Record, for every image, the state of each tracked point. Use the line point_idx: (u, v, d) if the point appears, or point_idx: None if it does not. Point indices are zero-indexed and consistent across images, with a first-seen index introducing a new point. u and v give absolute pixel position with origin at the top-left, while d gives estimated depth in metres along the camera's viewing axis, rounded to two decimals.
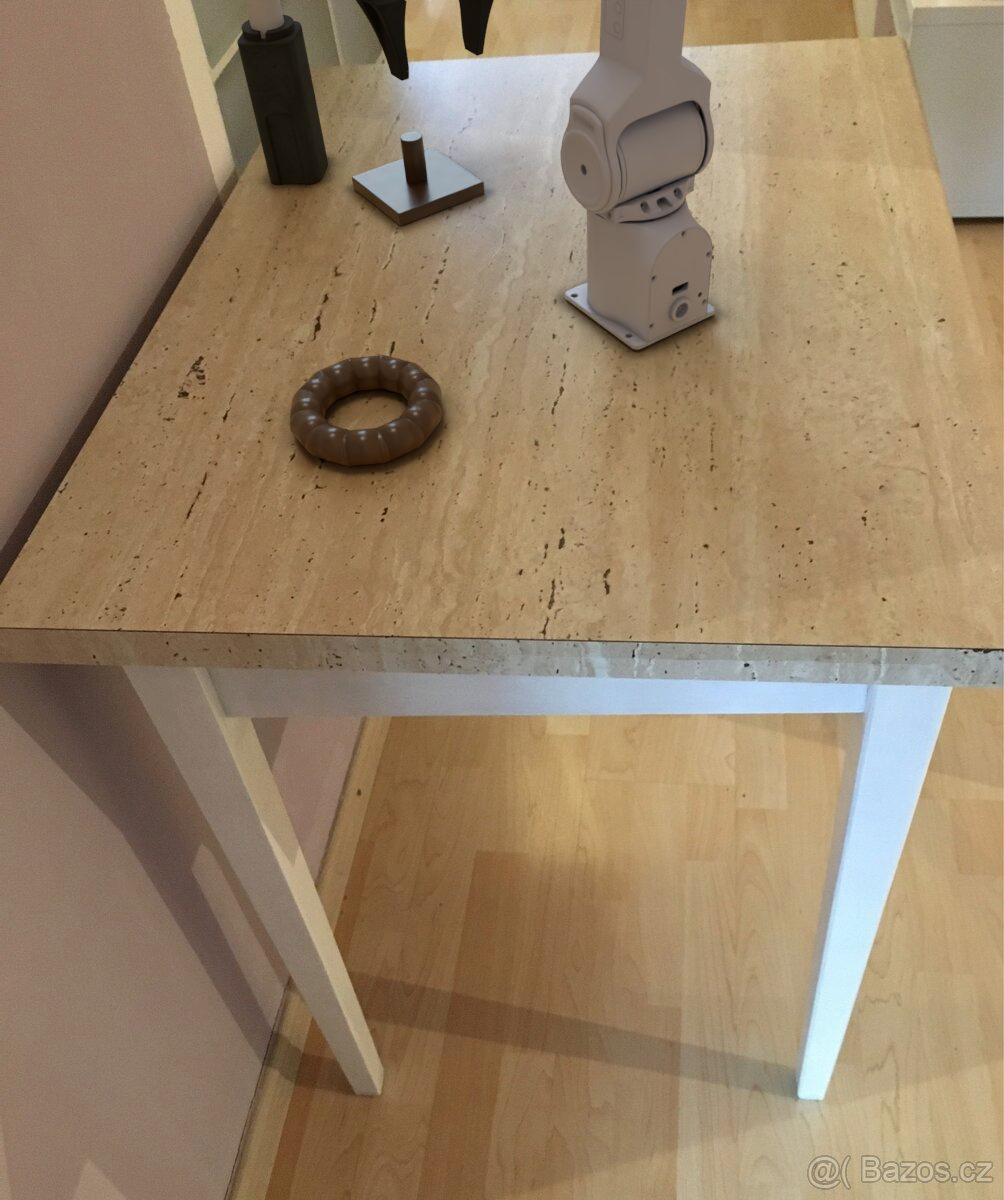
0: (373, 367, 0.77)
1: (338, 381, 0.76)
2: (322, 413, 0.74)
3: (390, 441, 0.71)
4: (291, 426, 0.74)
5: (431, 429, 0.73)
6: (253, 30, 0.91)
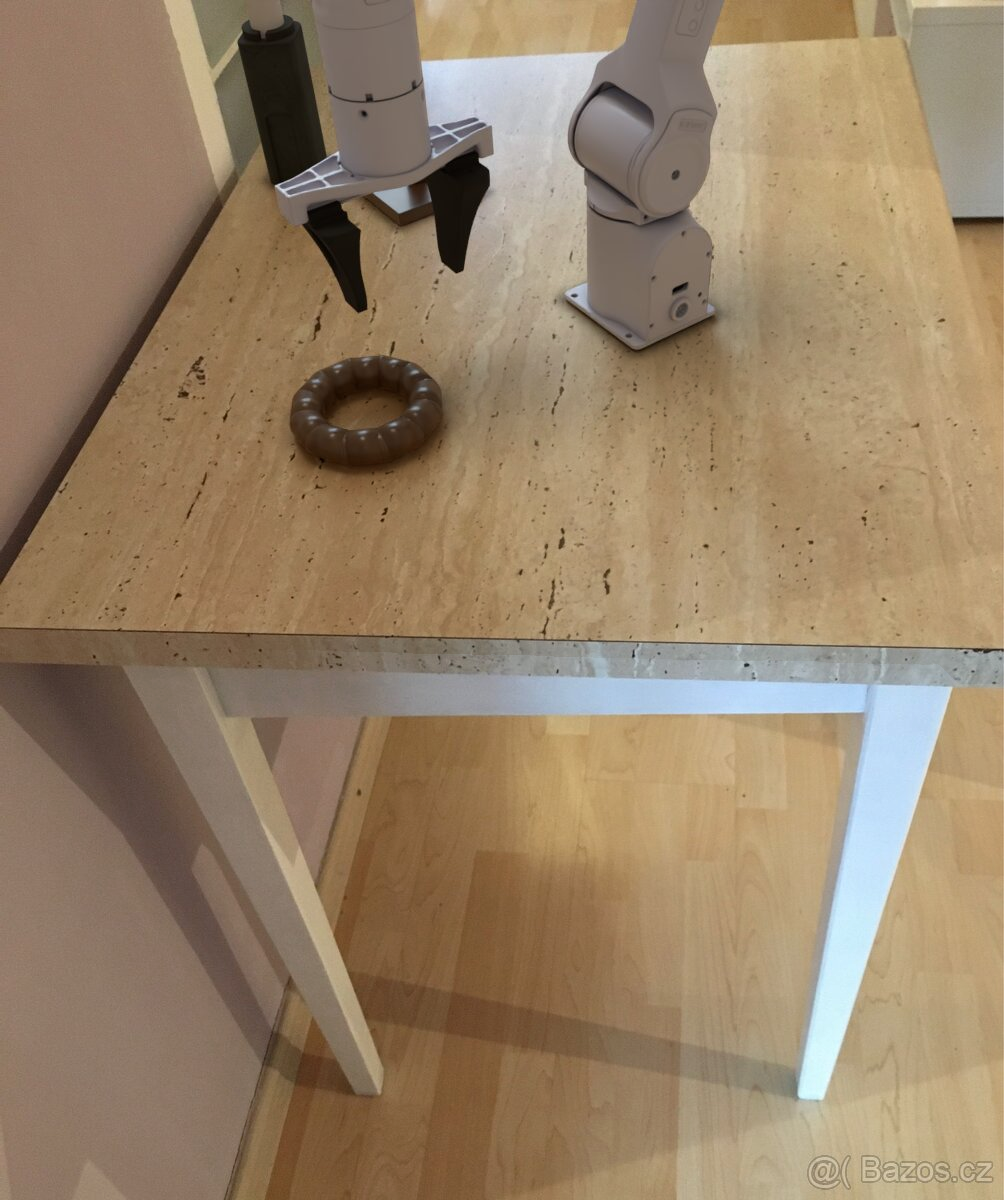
0: (373, 367, 0.77)
1: (338, 381, 0.76)
2: (322, 413, 0.74)
3: (390, 441, 0.71)
4: (291, 426, 0.74)
5: (431, 429, 0.73)
6: (253, 30, 0.91)
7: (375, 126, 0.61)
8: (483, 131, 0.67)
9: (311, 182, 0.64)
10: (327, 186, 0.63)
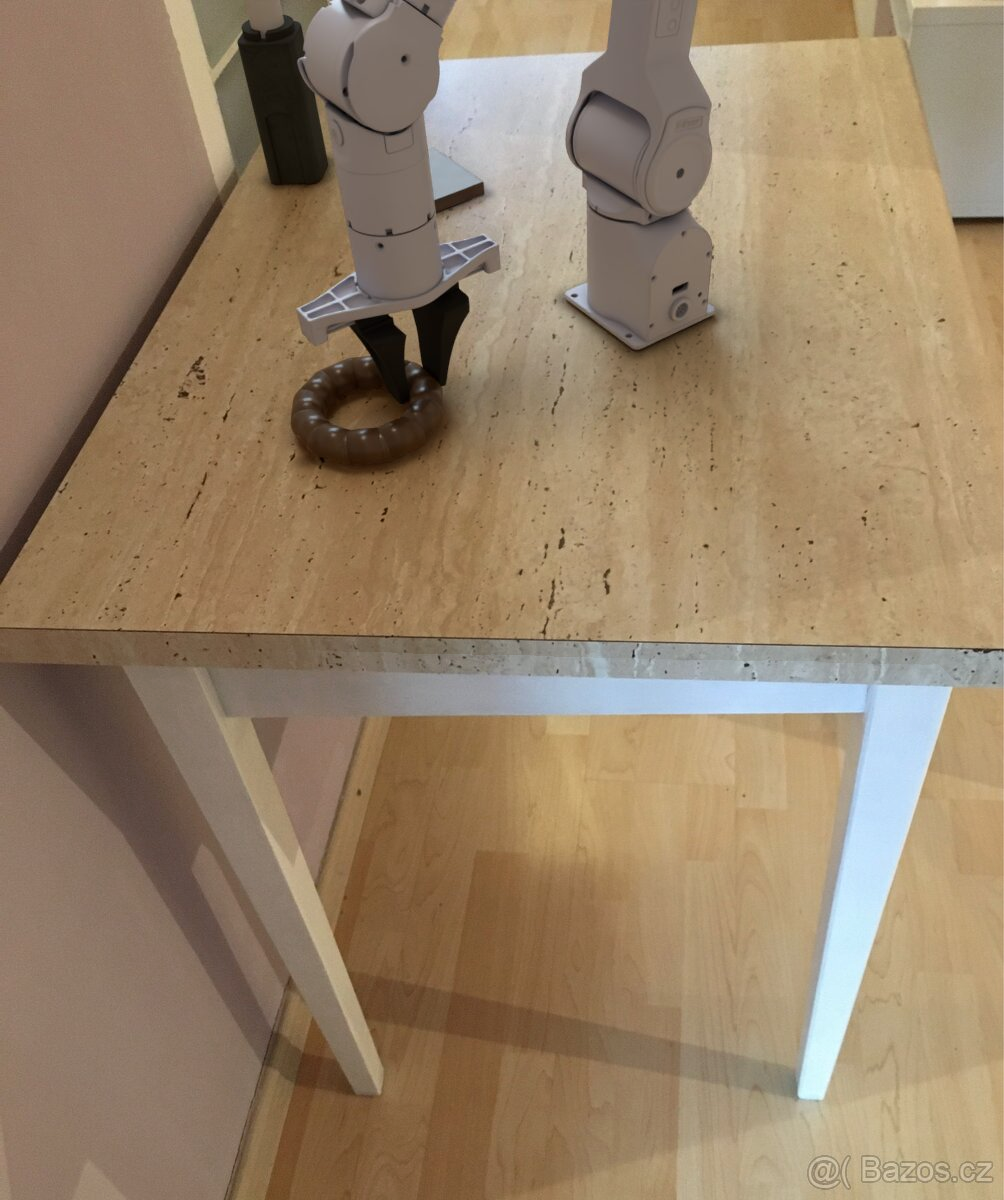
0: (374, 367, 0.77)
1: (339, 381, 0.76)
2: (323, 413, 0.74)
3: (391, 441, 0.71)
4: (292, 426, 0.74)
5: (432, 429, 0.73)
6: (253, 30, 0.91)
7: (391, 256, 0.66)
8: (491, 250, 0.71)
9: (331, 305, 0.68)
10: (346, 309, 0.67)
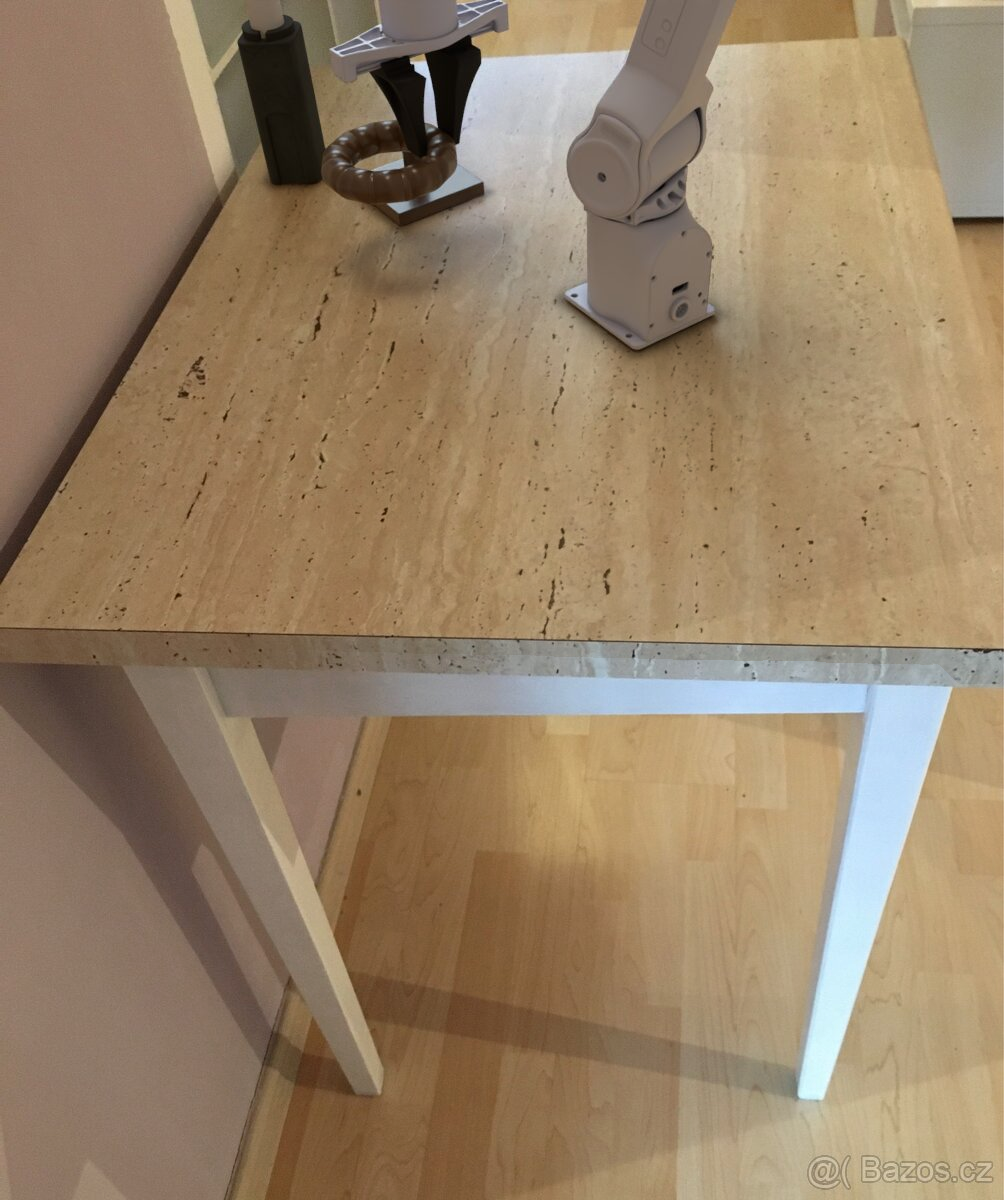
0: (394, 128, 0.86)
1: (363, 140, 0.85)
2: (350, 163, 0.83)
3: (412, 178, 0.80)
4: (323, 173, 0.83)
5: (448, 173, 0.82)
6: (253, 30, 0.91)
7: None
8: (500, 8, 0.80)
9: (360, 46, 0.77)
10: (373, 48, 0.76)
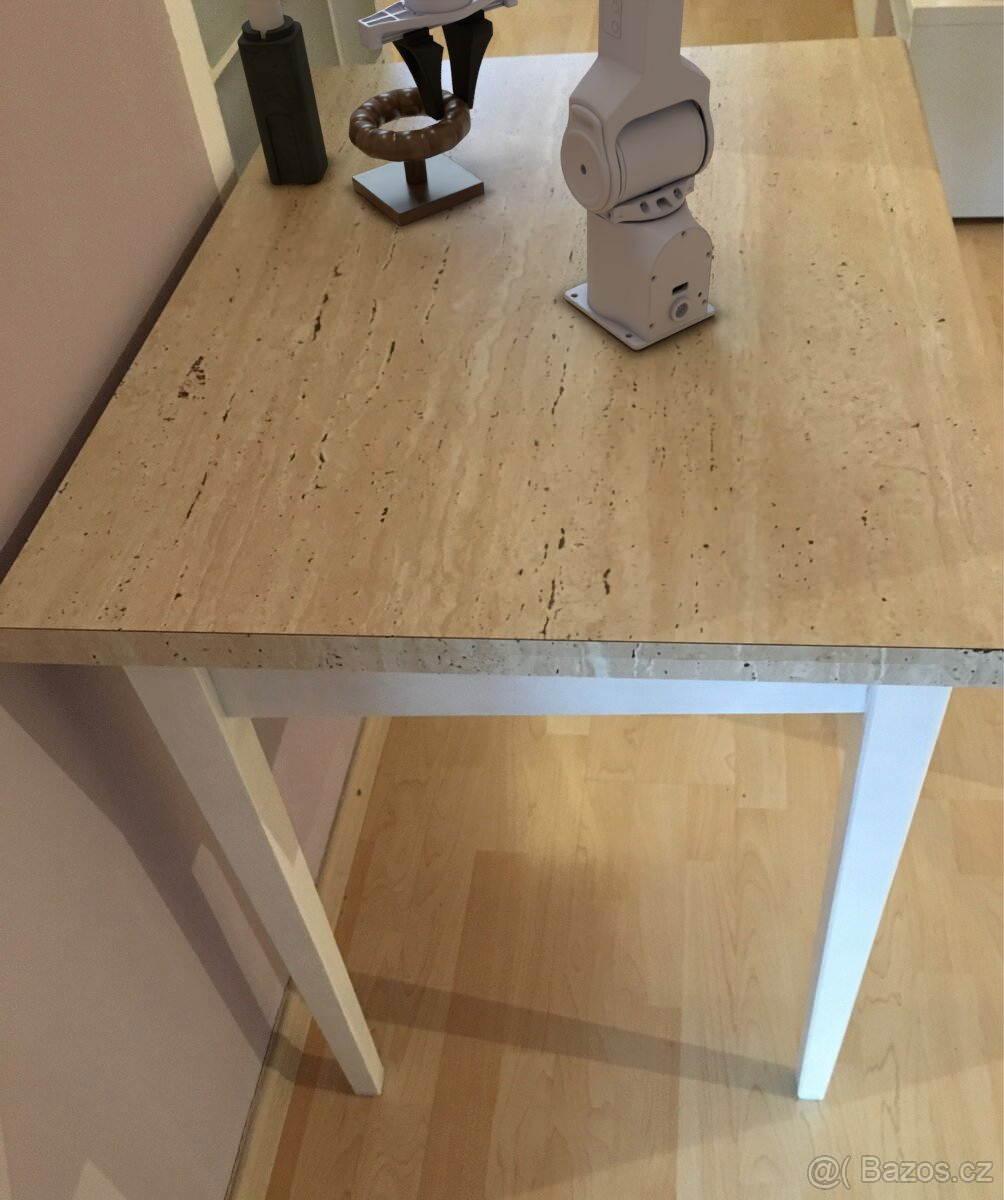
0: (414, 94, 0.95)
1: (386, 105, 0.95)
2: (374, 126, 0.93)
3: (431, 138, 0.90)
4: (350, 134, 0.92)
5: (462, 134, 0.92)
6: (253, 30, 0.91)
7: None
8: None
9: (385, 18, 0.86)
10: (397, 19, 0.86)
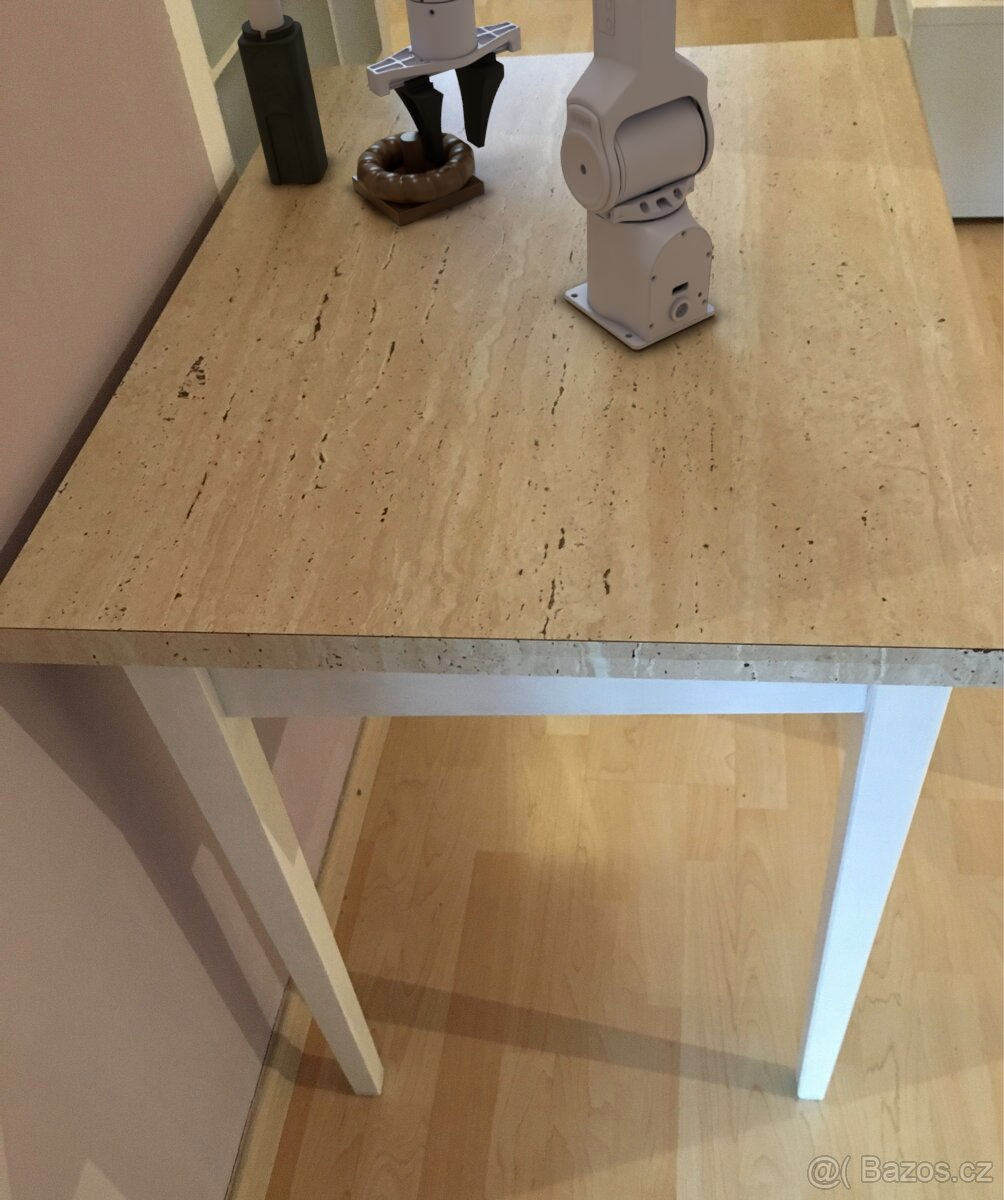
0: None
1: (393, 147, 0.98)
2: (382, 168, 0.96)
3: (436, 181, 0.93)
4: (358, 176, 0.95)
5: (467, 177, 0.95)
6: (253, 30, 0.91)
7: (440, 21, 0.87)
8: (514, 31, 0.92)
9: (392, 65, 0.89)
10: (404, 66, 0.88)
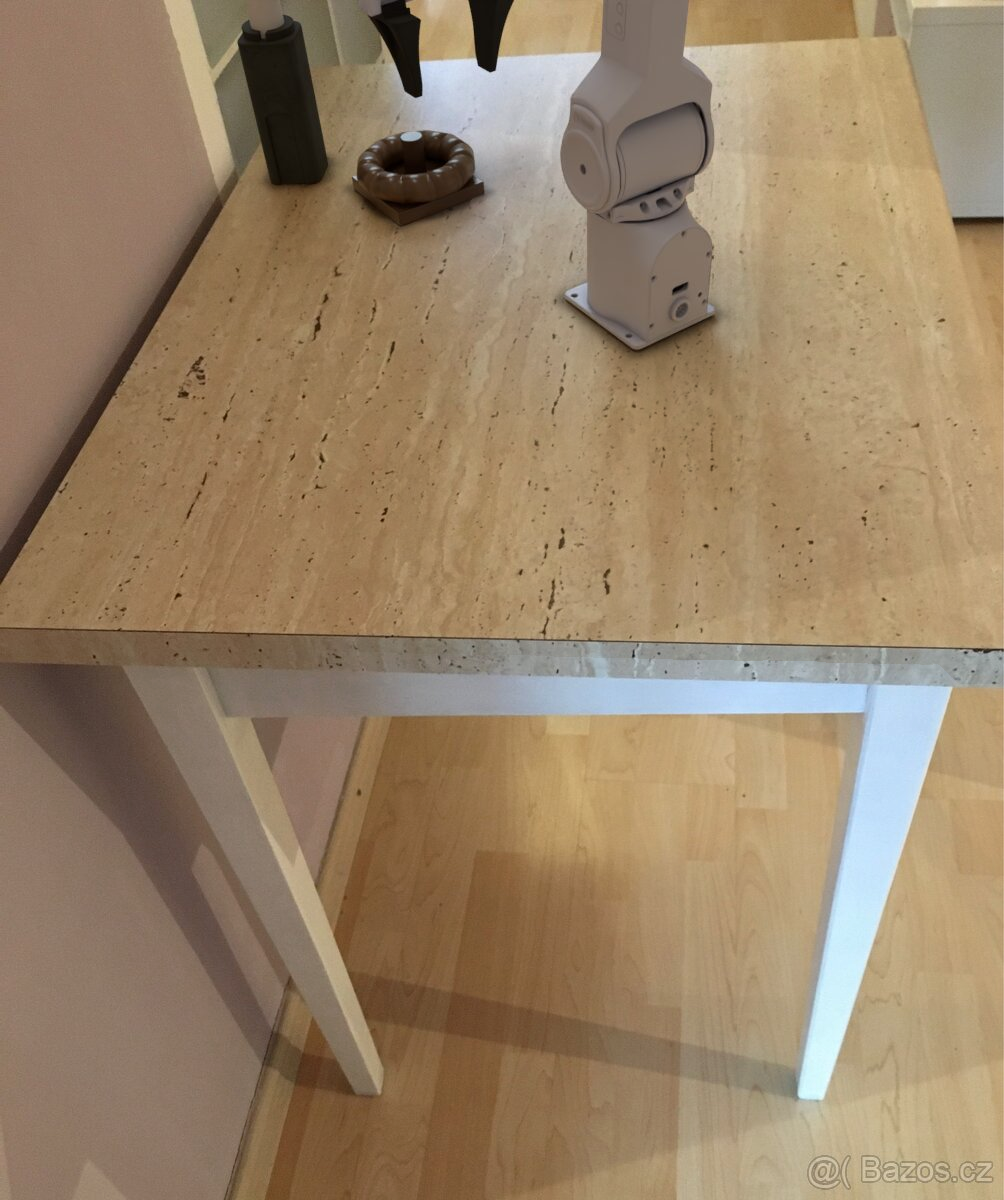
0: None
1: (393, 147, 0.98)
2: (382, 168, 0.96)
3: (436, 181, 0.93)
4: (358, 176, 0.95)
5: (467, 177, 0.95)
6: (253, 30, 0.91)
7: None
8: None
9: None
10: None
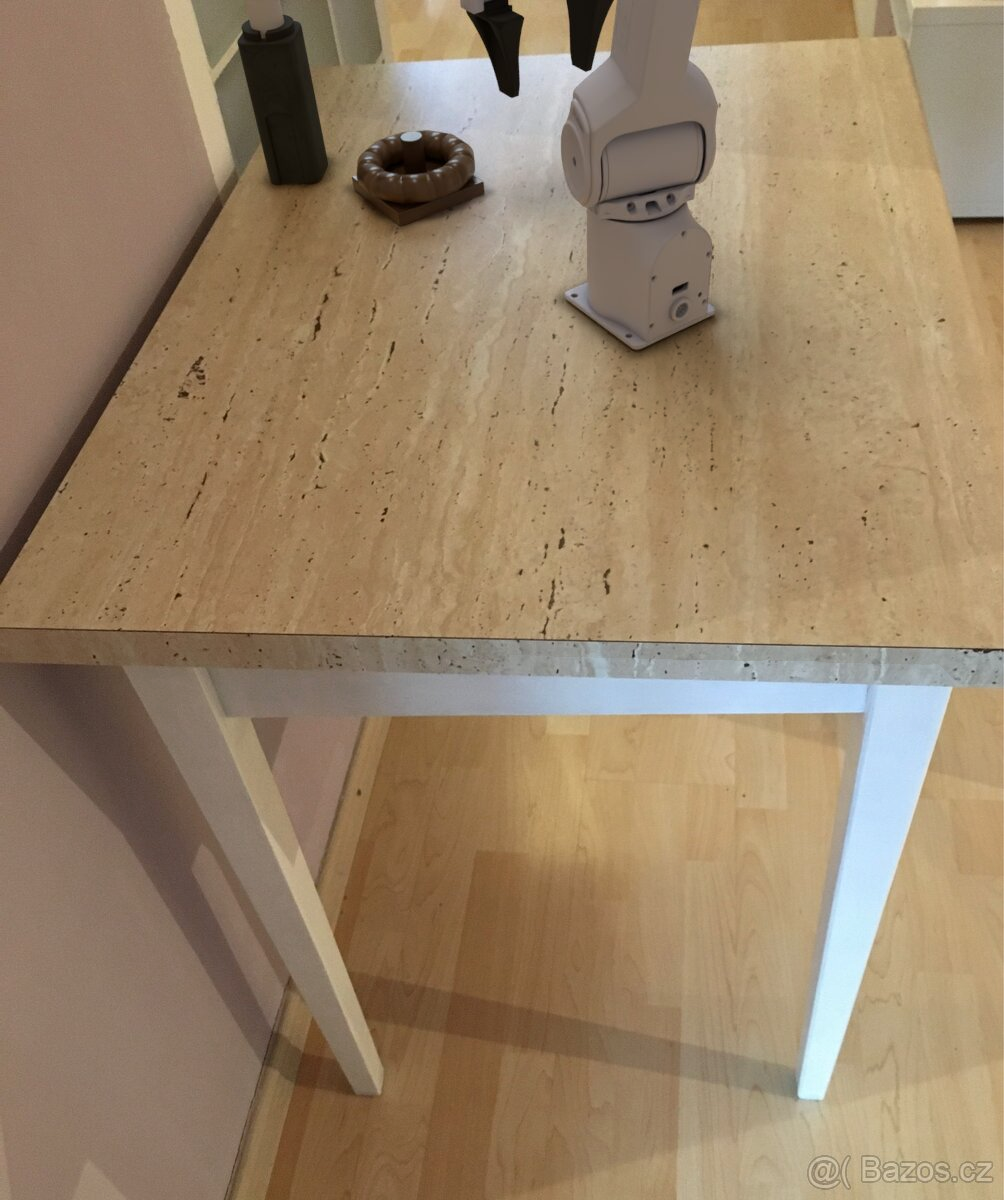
0: None
1: (393, 147, 0.98)
2: (382, 168, 0.96)
3: (436, 181, 0.93)
4: (358, 176, 0.95)
5: (467, 177, 0.95)
6: (253, 30, 0.91)
7: None
8: None
9: None
10: None
